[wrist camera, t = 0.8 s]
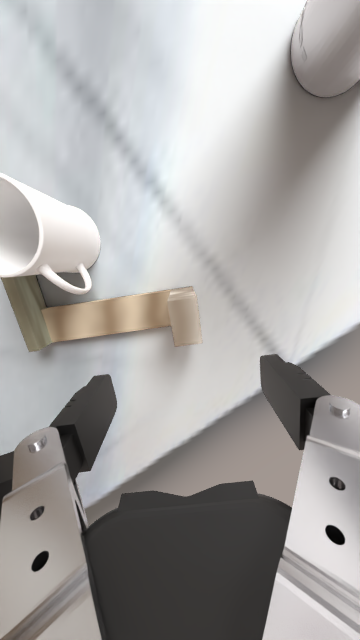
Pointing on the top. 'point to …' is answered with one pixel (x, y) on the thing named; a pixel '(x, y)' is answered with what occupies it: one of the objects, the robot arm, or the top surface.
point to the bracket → (101, 314)
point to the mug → (44, 236)
